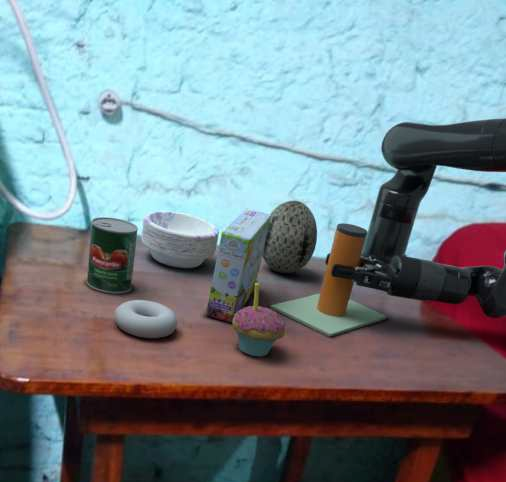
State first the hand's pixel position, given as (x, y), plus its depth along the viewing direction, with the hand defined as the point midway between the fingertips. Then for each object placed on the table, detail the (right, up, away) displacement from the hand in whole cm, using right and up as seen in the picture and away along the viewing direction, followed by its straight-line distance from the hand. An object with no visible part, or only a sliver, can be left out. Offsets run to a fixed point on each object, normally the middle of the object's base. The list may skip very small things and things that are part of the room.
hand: (329, 264), depth 137 cm
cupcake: (-14, -18, -17) cm, 29 cm away
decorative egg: (-8, +4, +22) cm, 24 cm away
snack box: (-18, -7, 0) cm, 19 cm away
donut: (-32, -15, -18) cm, 39 cm away
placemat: (+1, -8, +5) cm, 10 cm away
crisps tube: (+1, -8, +5) cm, 9 cm away
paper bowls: (-30, +4, +15) cm, 34 cm away
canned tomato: (-40, -5, -5) cm, 41 cm away
